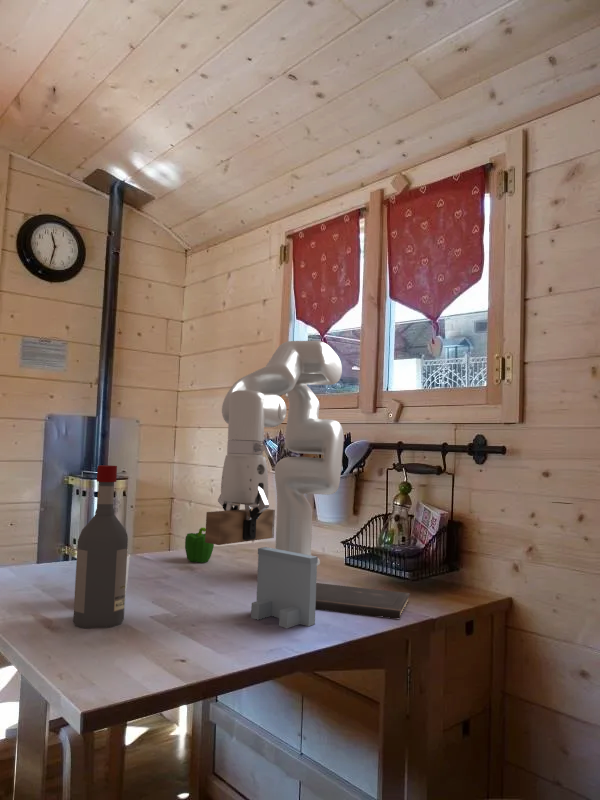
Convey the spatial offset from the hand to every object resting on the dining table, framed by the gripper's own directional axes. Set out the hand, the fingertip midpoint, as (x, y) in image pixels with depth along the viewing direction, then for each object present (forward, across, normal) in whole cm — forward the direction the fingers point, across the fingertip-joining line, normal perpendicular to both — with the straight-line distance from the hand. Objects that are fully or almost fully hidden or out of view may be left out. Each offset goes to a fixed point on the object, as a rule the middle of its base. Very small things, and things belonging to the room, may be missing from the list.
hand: (241, 536), depth 127 cm
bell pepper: (+15, +46, -29) cm, 56 cm away
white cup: (+16, +26, +14) cm, 33 cm away
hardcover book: (+16, -11, -26) cm, 32 cm away
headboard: (+16, -8, -4) cm, 18 cm away
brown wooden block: (+1, 0, 0) cm, 1 cm away
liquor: (+16, +15, +22) cm, 32 cm away
